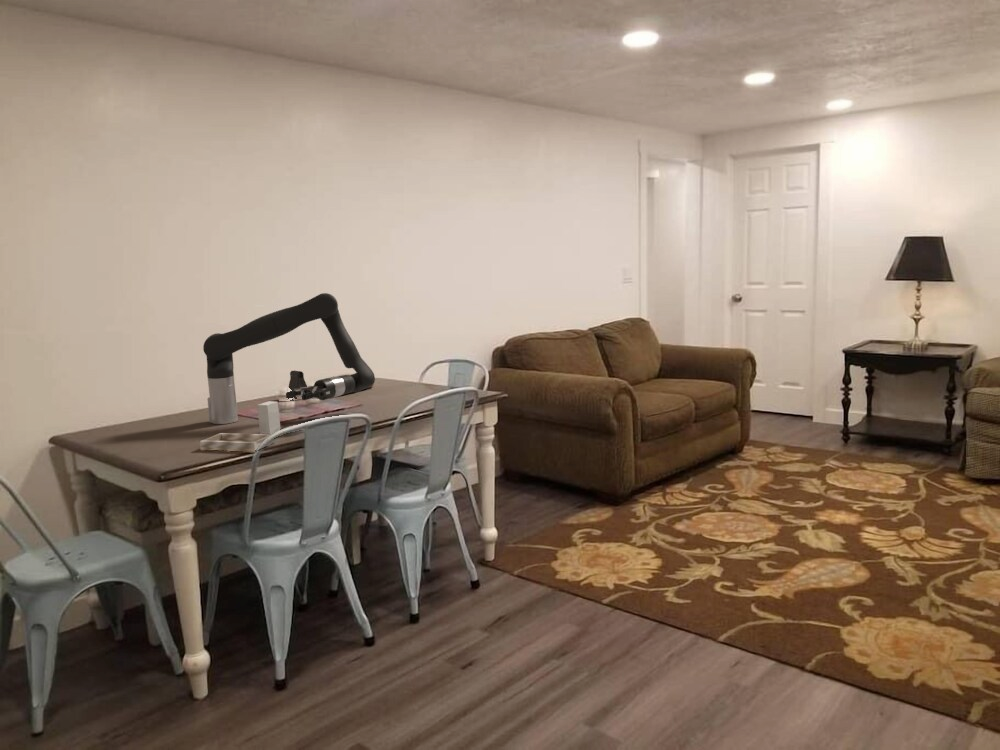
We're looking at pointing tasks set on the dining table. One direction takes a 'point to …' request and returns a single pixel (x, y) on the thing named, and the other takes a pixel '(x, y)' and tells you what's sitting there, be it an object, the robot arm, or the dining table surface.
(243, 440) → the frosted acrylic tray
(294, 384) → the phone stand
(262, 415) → the skincare box
